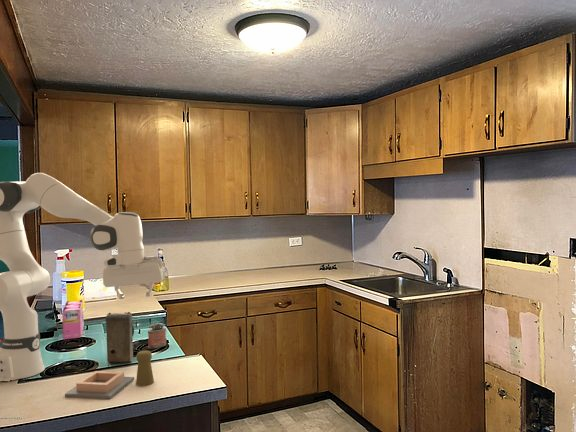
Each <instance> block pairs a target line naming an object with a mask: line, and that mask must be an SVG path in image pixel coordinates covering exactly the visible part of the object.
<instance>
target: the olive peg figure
mask: <svg viewBox="0 0 576 432" xmlns="http://www.w3.org/2000/svg"><path fill="white" fill-rule="evenodd" d="M152 356H153V355H152V351H150V350H141V351H138V352H137V354H136V357H135V358H136V361H137V370H136V379H135V380H136V381H135V385H136V386H138V387H146V386H150V385H153V383H155V378H154V374H153V367H152V362H151V360H152V358H153V357H152Z"/></svg>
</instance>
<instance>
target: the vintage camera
mask: <svg viewBox="0 0 576 432" xmlns="http://www.w3.org/2000/svg"><path fill="white" fill-rule="evenodd" d="M132 314H133V313H132V312H130V311H127V312H122V313H121V312H119V313H118V312H112V313H111V312H108V313H107V314H106V316H105V327H106V357H107V363H108V364H117V363H118V364H122V363H133V360H134V351H135V350H137V348H138V347H139V346H140V344H141V342H140V341H135V342H133V337H134V334H135V327H134V325H133V315H132Z"/></svg>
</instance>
